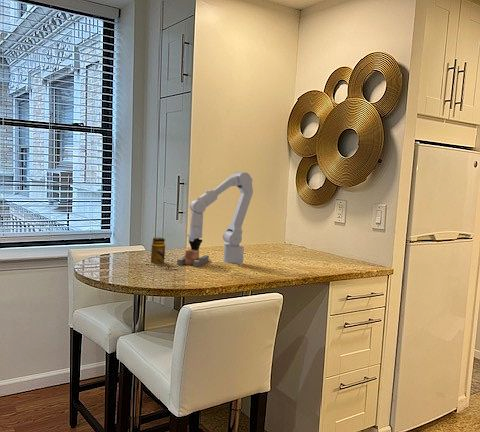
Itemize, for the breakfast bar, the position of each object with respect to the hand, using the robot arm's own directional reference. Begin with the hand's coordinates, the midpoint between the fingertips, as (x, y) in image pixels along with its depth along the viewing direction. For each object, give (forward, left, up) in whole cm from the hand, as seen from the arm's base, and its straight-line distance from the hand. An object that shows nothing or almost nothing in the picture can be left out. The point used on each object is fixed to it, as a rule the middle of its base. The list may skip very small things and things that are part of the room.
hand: (194, 254), depth 225 cm
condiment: (+15, +10, -4) cm, 19 cm away
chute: (0, +1, -4) cm, 4 cm away
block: (0, +4, -3) cm, 5 cm away
